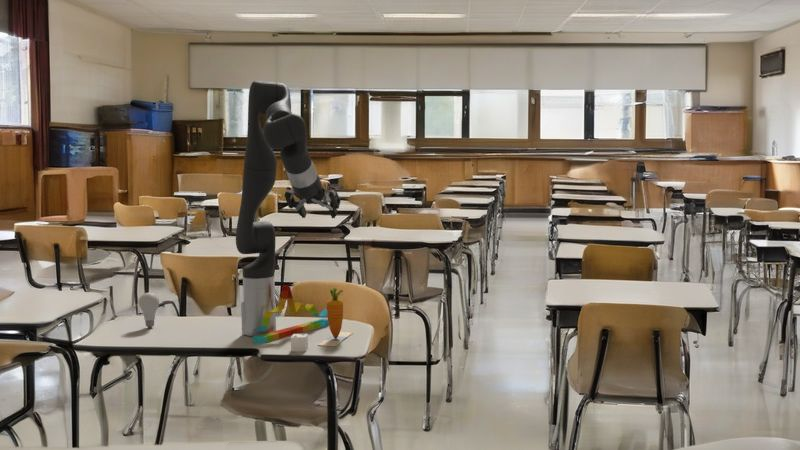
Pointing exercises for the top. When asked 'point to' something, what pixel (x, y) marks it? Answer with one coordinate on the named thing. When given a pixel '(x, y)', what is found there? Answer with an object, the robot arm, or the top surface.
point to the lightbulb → (149, 307)
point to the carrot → (335, 313)
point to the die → (299, 342)
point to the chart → (293, 308)
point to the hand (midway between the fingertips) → (319, 215)
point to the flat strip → (332, 341)
